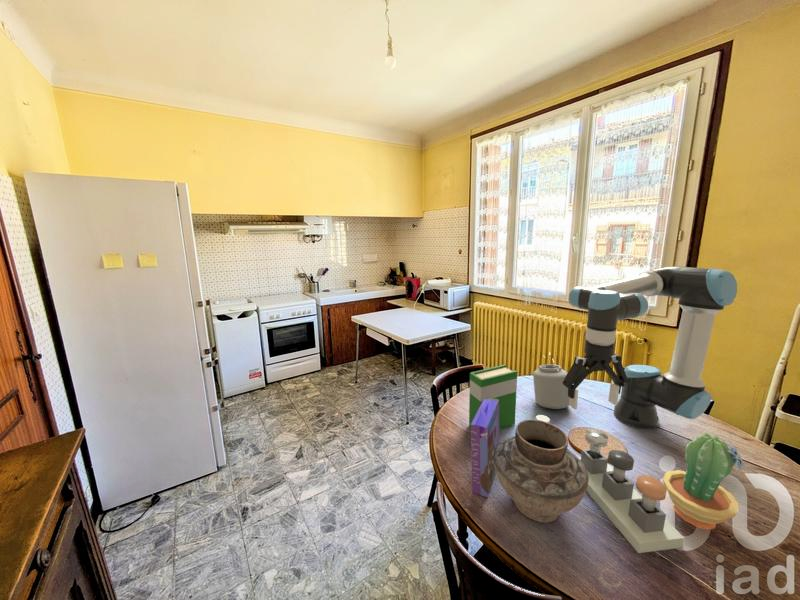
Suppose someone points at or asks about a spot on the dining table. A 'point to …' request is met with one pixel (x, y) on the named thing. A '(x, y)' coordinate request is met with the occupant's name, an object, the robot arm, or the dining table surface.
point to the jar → (550, 387)
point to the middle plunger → (620, 463)
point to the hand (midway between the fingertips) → (592, 404)
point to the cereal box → (484, 445)
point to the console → (628, 508)
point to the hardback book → (494, 392)
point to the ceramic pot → (540, 471)
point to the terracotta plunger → (650, 491)
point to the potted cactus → (704, 482)
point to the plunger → (596, 441)
